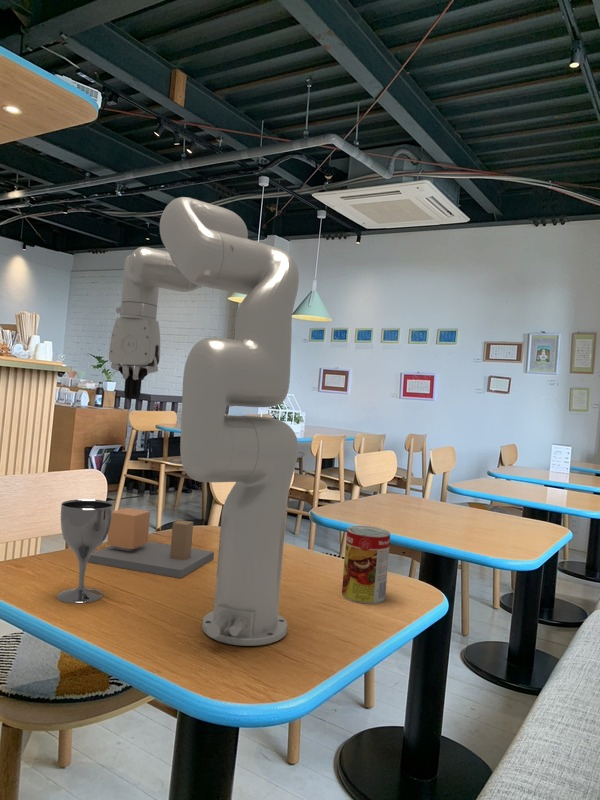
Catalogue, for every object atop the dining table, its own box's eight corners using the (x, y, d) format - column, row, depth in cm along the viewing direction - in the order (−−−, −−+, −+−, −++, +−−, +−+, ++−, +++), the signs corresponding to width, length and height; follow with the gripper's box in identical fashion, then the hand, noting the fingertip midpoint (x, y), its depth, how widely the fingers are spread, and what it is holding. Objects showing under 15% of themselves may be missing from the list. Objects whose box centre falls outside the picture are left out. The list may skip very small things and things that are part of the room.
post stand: (180, 578, 108) (184, 532, 108) (87, 562, 114) (90, 518, 114) (213, 558, 123) (216, 518, 123) (129, 545, 128) (132, 506, 128)
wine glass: (45, 602, 92) (53, 506, 92) (64, 586, 99) (71, 497, 99) (97, 605, 92) (104, 510, 92) (111, 589, 100) (118, 501, 100)
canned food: (349, 586, 112) (354, 523, 112) (389, 594, 109) (394, 530, 109) (335, 598, 104) (341, 530, 104) (378, 607, 101) (384, 538, 101)
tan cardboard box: (132, 549, 116) (135, 515, 116) (107, 544, 118) (109, 512, 118) (147, 542, 122) (150, 511, 122) (123, 539, 123) (125, 507, 123)
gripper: (98, 309, 125) (91, 395, 125) (161, 312, 121) (154, 400, 121) (118, 315, 132) (111, 396, 132) (178, 317, 128) (171, 401, 128)
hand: (131, 398), depth 126 cm, fingers closed
